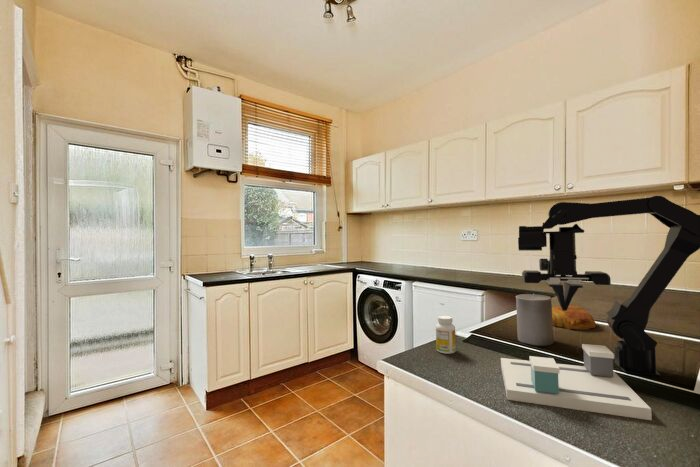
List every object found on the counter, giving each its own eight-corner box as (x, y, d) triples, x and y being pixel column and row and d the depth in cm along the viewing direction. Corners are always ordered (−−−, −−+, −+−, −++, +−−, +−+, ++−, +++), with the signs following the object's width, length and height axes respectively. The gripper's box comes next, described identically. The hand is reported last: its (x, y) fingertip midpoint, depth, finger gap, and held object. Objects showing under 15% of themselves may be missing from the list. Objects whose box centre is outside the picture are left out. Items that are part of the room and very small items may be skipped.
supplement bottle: (449, 346, 97) (448, 314, 97) (459, 352, 92) (458, 318, 92) (433, 348, 96) (432, 315, 96) (442, 355, 91) (441, 320, 91)
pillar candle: (545, 336, 105) (543, 289, 105) (559, 346, 95) (557, 295, 95) (513, 336, 106) (511, 290, 107) (523, 345, 97) (521, 295, 97)
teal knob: (554, 382, 68) (553, 358, 68) (560, 394, 62) (559, 368, 63) (530, 379, 69) (529, 356, 69) (534, 391, 64) (533, 365, 64)
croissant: (539, 326, 124) (535, 305, 125) (580, 319, 124) (576, 298, 124) (562, 336, 110) (557, 313, 110) (608, 329, 109) (604, 306, 110)
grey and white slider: (605, 367, 74) (604, 345, 74) (614, 377, 69) (614, 353, 69) (582, 365, 76) (581, 343, 76) (590, 374, 71) (589, 351, 71)
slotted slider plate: (612, 378, 74) (611, 368, 74) (651, 420, 57) (651, 408, 57) (500, 365, 82) (500, 357, 82) (507, 399, 66) (506, 389, 66)
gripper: (594, 249, 89) (596, 305, 89) (518, 249, 96) (520, 302, 96) (610, 251, 79) (612, 315, 79) (523, 251, 86) (525, 310, 86)
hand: (564, 310), depth 85 cm, fingers closed
